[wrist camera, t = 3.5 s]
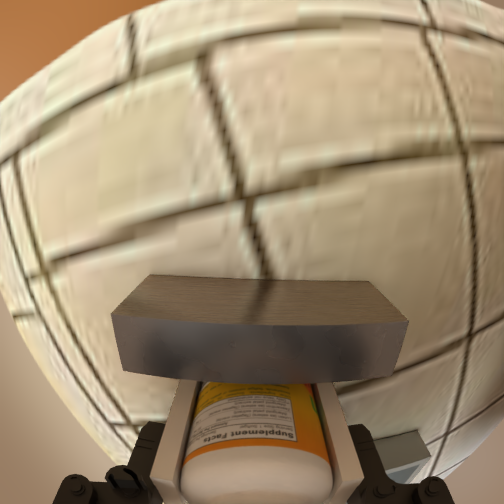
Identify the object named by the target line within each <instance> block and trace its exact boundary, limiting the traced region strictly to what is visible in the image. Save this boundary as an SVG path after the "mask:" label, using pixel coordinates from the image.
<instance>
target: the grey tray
mask: <svg viewBox="0 0 504 504" xmlns="http://www.w3.org/2000/svg"><path fill="white" fill-rule="evenodd" d="M373 442H374V444H375V446H376V449H377V451H378V454H379V456H380V459H381V461H382V464H383V467H384V469H385V472H386V474H387V476H388V477H389V478H390V479H392V480H394V481H395V482H397V483H401V484H409V483H410V482H411V481H412V480H413V479H414V478H415V476H416V475H417V474H418V473H419V472H420V470H421V469H422V468H423V467H424V465H425V464H426V463H427V462H428V460H429V459H430V458H431V455H430V453H429V451H428V449H427V447H426V445H425V443H424V442H423V440H422V438H421V436H420V434H419V432H418V431H413V432H409V433H405V434H402V435H397V436H393V437H389V438H384V439H379V440H374V441H373ZM323 504H324V503H323ZM346 504H347V502H346Z"/></svg>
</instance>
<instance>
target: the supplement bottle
mask: <svg viewBox="0 0 504 504" xmlns="http://www.w3.org/2000/svg"><path fill="white" fill-rule="evenodd" d="M180 486H181V491H182V494H183V496H184V498H185V499H186V501H187V502H188V503H189V504H323V503H324V501H325V500H326V499H327V498H328V496H329V495H330V492H331V490H332V486H333V477H332V471H331V466H330V462H329V457H328V453H327V449H326V444H325V440H324V436H323V432H322V428H321V423H320V419H319V415H318V411H317V407H316V404H315V400H314V396H313V392H312V388H311V384H310V383H308V384H240V383H220V382H206V381H202V382H201V386H200V390H199V395H198V399H197V403H196V408H195V412H194V417H193V421H192V426H191V430H190V435H189V439H188V444H187V448H186V453H185V457H184V461H183V466H182V471H181V480H180Z"/></svg>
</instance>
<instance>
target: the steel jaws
mask: <svg viewBox="0 0 504 504" xmlns="http://www.w3.org/2000/svg"><path fill="white" fill-rule="evenodd" d="M111 317H112V322H113V328H114V333H115V337H116V342H117V347H118V351H119V355H120V359H121V364H122V368H123V371H128V372H134V373H140V374H146V375H153V376H160V377H167V378H176V379H185V380H195V381H206V382H220V383H240V384H308V383H327V382H341V381H352V380H362V379H371V378H379V377H387V376H392V373H393V371H394V368H395V365H396V362H397V359H398V356H399V353H400V350H401V347H402V343H403V340H404V337H405V333H406V330H407V326H408V323H409V321H408V320H407V319H406V318H405V317H404V315H403V314H402V313H401V312H400V311H399V310H398V309H397V308H396V307H395V306H393V305H392V304H391V303H390V302H389V301H388V300H387V299H386V298H385V297H384V296H383V295H382V294H381V293H380V292H379V291H378V290H377V289H376V288H375V287H374V286H373V285H372V284H371V283H370V282H369V281H292V280H255V279H226V278H202V277H181V276H162V275H149V276H148V277H147V278H146V279H145V280H144V281H143V282H142V283H141V284H140V285H139V286H138V287H137V288H136V289H135V290H134V291H133V292H132V293H131V294H130V295H129V296H128V297H127V298H126V299H125V300H124V301H123V302H122V303H121V304H120V305H119V306H118V307H117V308H116V309H115V310H114V311H113V312H112V313H111Z"/></svg>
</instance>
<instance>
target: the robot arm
mask: <svg viewBox="0 0 504 504" xmlns="http://www.w3.org/2000/svg"><path fill="white" fill-rule="evenodd" d="M201 382H202V381H195V380H185V379H180V382H179V385H178V388H177V391H176V394H175V397H174V400H173V404H172V407H171V410H170V413H169V416H168V419H167V422H166V424H163V423H157V422H151V421H149V422H148V423H147V424H146V425H145V426H144V427H143V428H142V429H141V431H140V434H139V436H138V440H137V441H136V444H135V447H134V449H133V452H132V454H131V457H130V460H129V462H128V465H127V466H126V465H119V466H115V467H113V468H111V469H110V470H109V471H108V472H107V473H106V476H105V479H106V481H107V482H91V481H89V480H88V479H87V478H86V477H84V476H82V475H77V474H73V475H69V476H67V477H65V479H64V480H63V481H62V483H61V485H60V488H59V490H58V492H57V495H56V497H55V499H54V501H53V504H162V503H163V502H164V504H185V502H186V499H185V498H184V496H183V494H182V491H181V486H180V480H181V471H182V466H183V461H184V457H185V453H186V448H187V444H188V439H189V435H190V430H191V426H192V421H193V417H194V412H195V408H196V403H197V399H198V395H199V390H200V386H201ZM310 384H311V388H312V392H313V396H314V400H315V404H316V407H317V411H318V415H319V419H320V423H321V428H322V432H323V436H324V440H325V444H326V449H327V453H328V457H329V462H330V466H331V471H332V477H333V486H332V490H331V492H330V495H329V496H328V498H327V499H326V500H325V501H324V504H346V502H347V504H455V503H454V501H453V499H452V496H451V494H450V492H449V490H448V488H447V486H446V484H445V482H444V481H443V480H442V479H441V478H439V477H435V476H432V477H427V478H425V479H424V480H422V481H421V482H420V483H416V484H401V483H397V482H395V481H394V480H392V479H390V478H389V477H388V476H387V474H386V472H385V469H384V467H383V464H382V461H381V459H380V456H379V454H378V451H377V449H376V446H375V444H374V442H373V438H372V436H371V434H370V431H369V430H368V429H367V428H366V427H365V426H364V425H363V424H358V425H351V426H347V423H346V420H345V417H344V415H343V412H342V409H341V406H340V403H339V400H338V397H337V394H336V392H335V389H334V386H333V383H332V382H327V383H310Z"/></svg>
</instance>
